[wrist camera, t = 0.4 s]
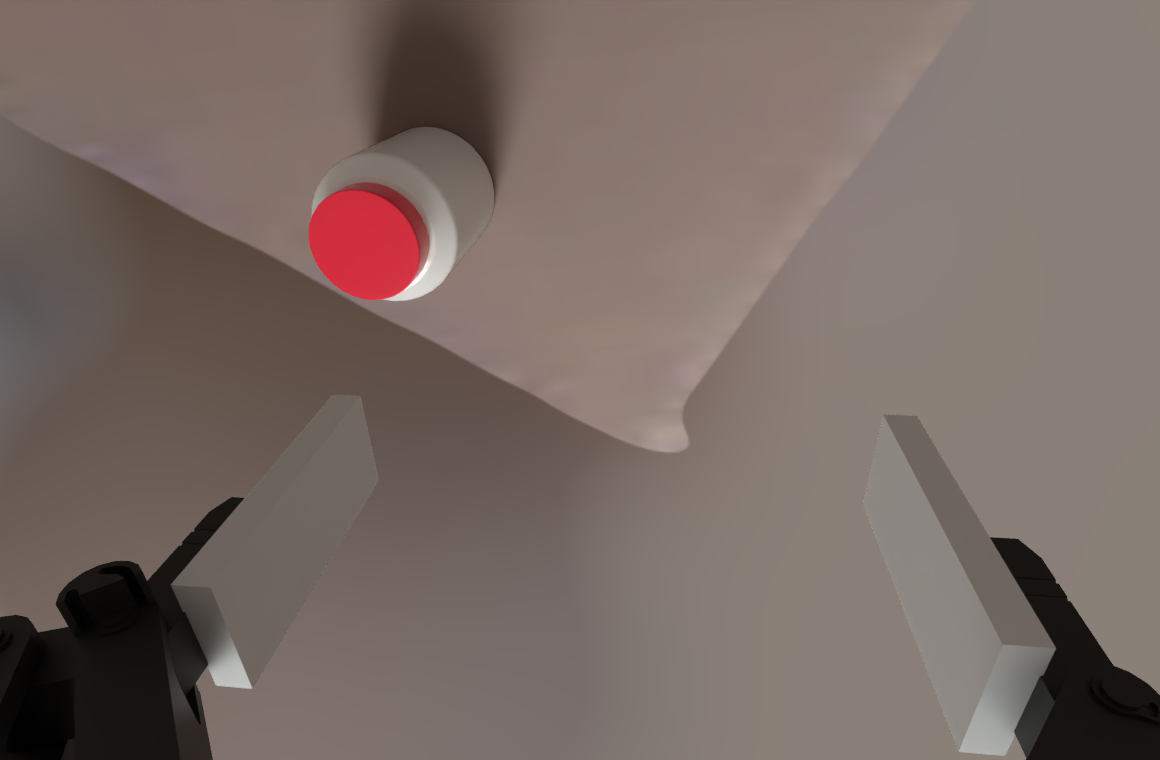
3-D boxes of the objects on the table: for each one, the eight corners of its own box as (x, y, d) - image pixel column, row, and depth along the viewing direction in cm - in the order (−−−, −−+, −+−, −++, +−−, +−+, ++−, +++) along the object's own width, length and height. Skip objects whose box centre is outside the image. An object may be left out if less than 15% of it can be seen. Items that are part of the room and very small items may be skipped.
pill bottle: (488, 125, 39) (431, 163, 30) (499, 253, 43) (451, 323, 33) (362, 126, 40) (267, 164, 31) (384, 251, 44) (305, 319, 34)
